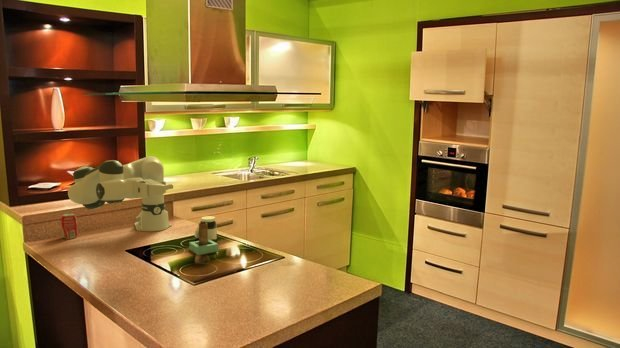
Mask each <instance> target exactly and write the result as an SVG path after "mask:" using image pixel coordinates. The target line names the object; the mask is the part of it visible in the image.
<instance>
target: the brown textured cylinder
mask: <svg viewBox="0 0 620 348" xmlns="http://www.w3.org/2000/svg"><path fill="white" fill-rule="evenodd" d="M198 227H199V238H198V241H199V246H203V245H208V226H207V223H206V221H201V220H200V221H199V222H198Z"/></svg>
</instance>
